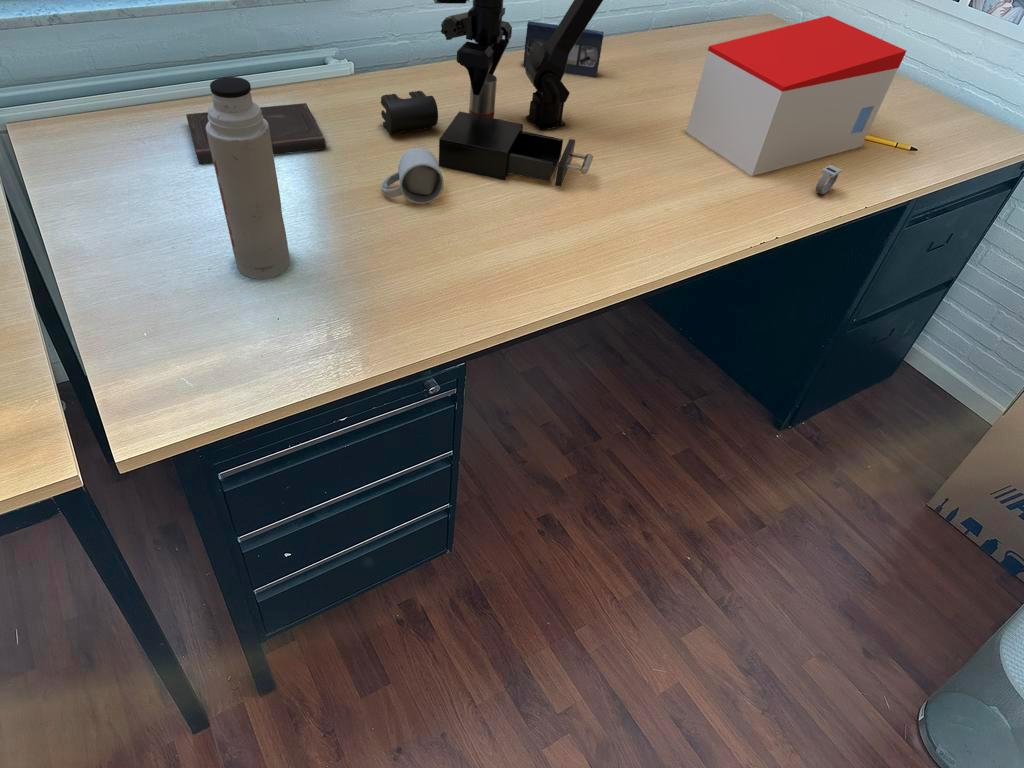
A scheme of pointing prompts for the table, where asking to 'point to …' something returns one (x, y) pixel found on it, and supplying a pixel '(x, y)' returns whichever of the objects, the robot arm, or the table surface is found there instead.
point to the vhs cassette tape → (581, 55)
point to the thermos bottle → (247, 179)
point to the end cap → (409, 112)
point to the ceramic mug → (416, 177)
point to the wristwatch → (828, 172)
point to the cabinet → (478, 145)
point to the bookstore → (792, 93)
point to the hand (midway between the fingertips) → (482, 86)
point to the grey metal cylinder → (484, 98)
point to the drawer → (543, 157)
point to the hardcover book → (286, 126)
